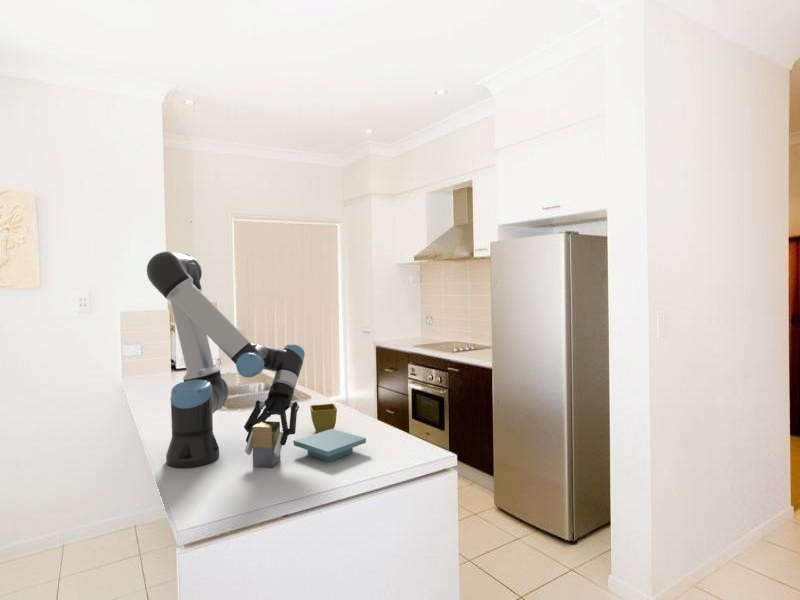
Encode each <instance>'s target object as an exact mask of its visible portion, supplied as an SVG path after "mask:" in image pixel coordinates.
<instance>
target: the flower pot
mask: <svg viewBox="0 0 800 600" xmlns="http://www.w3.org/2000/svg"><path fill="white" fill-rule="evenodd" d="M309 407H310V408H309V409H310V416H311V417H310V418H311V422H312V424H313V427H314V431H316V434H317V433H320V432H323V431H326V430H330V429H334V430H335V427H336V423H337V414H338V408H337V407H336V405H335V404H334V403H325V404H311V405H310V406H309Z"/></svg>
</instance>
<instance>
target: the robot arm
mask: <svg viewBox="0 0 800 600" xmlns="http://www.w3.org/2000/svg"><path fill="white" fill-rule="evenodd" d="M202 274H203V271H202V266H201V265H200V262H199V261H198V260H197V259H195V258H194V257H193V256H191V255H190V254H188V253H183V252H172V251H162V252H159V253H156V254H154V255H153V256H152V257H151V258H150V260H149V261H148V263H147V264H146V275H147V278H148V280H149V282H150V283H151V284H152V286H153V287H154V288H155V289H156V290H157V291H158V292H159V293H160V294H161V295H162V296H163V297H164V298H165V299H166V300H168V301H169V302H170V304H171V308H172V310H171V311H172V314H173V319H174V322H175V326H176V327H175V328H176V330H177V335H178V340H179V343H180V348H181V353H182V357H183V361H184V365H185V366H184V367H185V369H186V373H185V374H184V376H183V378H182V380H183V381H182V382H179V383H177V384H175V385H174V386H172V388H171V391H170V392H171V393H170V398H169V400H170V408H171V409H170V411H171V412H170V413H171V414H170V415H171V417H170V418H171V438H170V439H171V440H170V443H169V445H168V450H167V452H166V455H165V457H166V458H165V459H166V460H165V462H166V465H167V466H169V467H172V468H178V469H181V468H183V469H186V468H195V467H201V466H205V465H208V464H211V463H213V462H215V461H216V460H218V459H219V458H220V446H219V444H218V442H217V439H216V437H215V434H214V429H213V428H214V426H213V425H214V424H213V422H214V419H213V415H214V413H216V412H217V411H218V410H220V409H221V408H222V407H223V406H224V405H225V403H226V401H227V400H228V397H229V392H230V391H229V387H228V383H227V381H226V380H225V379H224V378H222V373H221V369H220V368H219V367H217V366H215V365H214V360H213V356H212V351H211V347H210V343H209V339H211V341H212V342H213V343H214V344H215V345H216V346H217V347H218V348H219V349H220V350H221V351H222V352H223V353H224V354H225V355H226V356H227V357H228V358H229V359H230V360H231V361H232V362H233V363H234V364H235V368H236V371H237V372H238V374H239V375H240V376H241V377H244V378H249V379H250V378H254V377H256V376H257V375H260V374H261V373H262V372H263V371H264V370H267V371H271V372H275V373H274V377H273V379H272V382H271V386H270V388H269V391H268V394H267V397H266V399H265V400H264V401H260V400H258V399H257V400H256V401H255V405H254V408H253V410H252V411H251V413H250V415H249V417H248V419H247V421H246V422H245V424H244V426H243V428H244V430H245V431H246V432H247V436H246V439H245V442H246V445H245V448H244V452H245V453H246V455H247V456H251V454H252V452H253V441H252V427H253V426H254V425H256V424H257V423H259V422H261V421H267V419H268V418H270V417H271V416H272V415H275V416H276V415H277V416H279V417H280V424H281V428H282V431H280V433H279V437H278V440H277V443H276V446H275V450H274V454H275V455H276V457H279V455H280V456H281V451H282V447H283V446H286V443H287V440H288V437H289V436H290V435H296V429H297V416H298V411H299V408H300V405H299V404H298V402H297V401H294V402H292V400H293V396H294V393H295V390H296V387H297V384H298V380H299V377H300V374H301V370H302V368H303V364H304V359H305V355H306V353H305V349H303V348H302V346H300V345H298V344H294V343H291V344H286V345H285V346H284V347H283V349H281V348H275V347H271V346H267V345H261V344H259V343H251V341H249V340H248V339H247V337H245V336H244V334H243V333H241V332H240V330H238V329H237V327H235V325H234V324H232V322H231V321H230V320H229V319H228V318H227V317H226V316H225V315H224V314H223V313H222V312H221V311H220V310H219V309H218V308H217V307H216V306H215V305H214V304H213V303H212V301H210V300H209V298H207V297H206V296H205V295H204V293H203V292H202V291H203V289H202V284H201V279H202V277H203V276H202ZM208 338H209V339H208ZM289 408H290V414H289V415H290V416H289V425H288V420H287V412H286V411H287V410H288V409H289ZM261 412H262V413H261Z"/></svg>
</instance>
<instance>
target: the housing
mask: <svg viewBox="0 0 800 600" xmlns="http://www.w3.org/2000/svg"><path fill="white" fill-rule="evenodd" d="M280 432H281V421H270V420H269V421H267V420H266V421H261V422H259V423H257V424H256V425H254V426H253V427H252V441H253V448H252V468H259V469H260V468H261V469H263V468H264V469H273V468H274V467H275V466H277V465H278V464H279V463H280V462H281V454H280V455H279V457H276V455H275V454H274V450H275V446H276V443H277V440H278V437H279V433H280Z"/></svg>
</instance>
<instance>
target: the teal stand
mask: <svg viewBox="0 0 800 600" xmlns="http://www.w3.org/2000/svg"><path fill="white" fill-rule="evenodd" d="M366 443H367V439H366V437H363V436H359V435H356V434H352V433H349V432H344V431H341V430H337V429H335V428H334V429H330V430H326V431H323V432H320V433H317V432H316V433H313V434H311V435H307V436H304V437H301V438H298V439H295V440H293V446H295V447H298V448H301V449H304V450H307V455H310V456H311V457H315V458H318V459H320V460H324V461H326V462H331V461H334V460H337V459H340V458H342V457H344V456H347V455H349V454H352V453H354V452H353V451H354V450H353V449H354V448H355V447H358V446H361V445H364V444H366Z"/></svg>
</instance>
